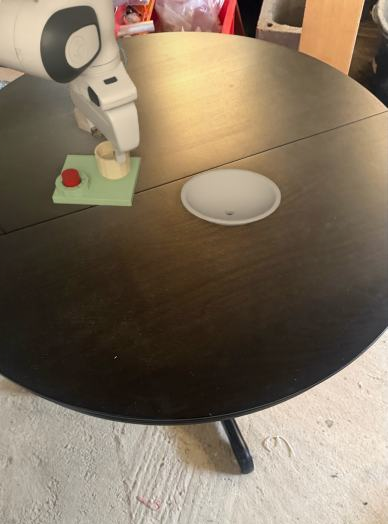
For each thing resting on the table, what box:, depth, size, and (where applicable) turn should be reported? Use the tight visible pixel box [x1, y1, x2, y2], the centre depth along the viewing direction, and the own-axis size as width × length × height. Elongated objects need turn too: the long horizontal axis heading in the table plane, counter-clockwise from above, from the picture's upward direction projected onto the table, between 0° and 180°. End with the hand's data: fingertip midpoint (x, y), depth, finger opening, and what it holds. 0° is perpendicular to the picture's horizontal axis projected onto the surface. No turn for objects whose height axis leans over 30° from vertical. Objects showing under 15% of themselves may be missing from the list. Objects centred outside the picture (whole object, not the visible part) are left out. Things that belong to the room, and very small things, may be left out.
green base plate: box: [51, 154, 142, 207], centre depth 92 cm, size 15×13×3 cm
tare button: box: [60, 168, 81, 187], centre depth 89 cm, size 3×3×2 cm
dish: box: [180, 168, 282, 227], centre depth 85 cm, size 18×14×5 cm
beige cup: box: [93, 139, 131, 180], centre depth 91 cm, size 6×6×4 cm
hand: (108, 147), depth 89 cm, fingers open, 8 cm apart
